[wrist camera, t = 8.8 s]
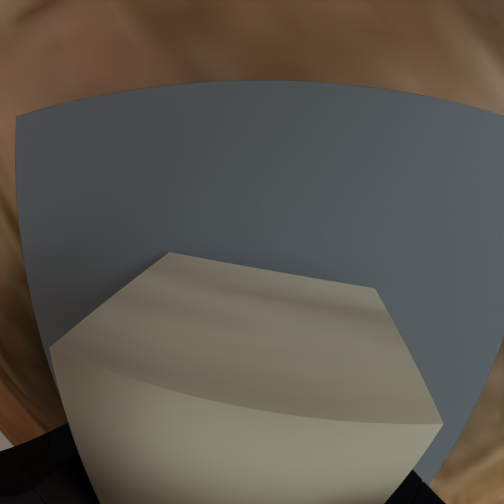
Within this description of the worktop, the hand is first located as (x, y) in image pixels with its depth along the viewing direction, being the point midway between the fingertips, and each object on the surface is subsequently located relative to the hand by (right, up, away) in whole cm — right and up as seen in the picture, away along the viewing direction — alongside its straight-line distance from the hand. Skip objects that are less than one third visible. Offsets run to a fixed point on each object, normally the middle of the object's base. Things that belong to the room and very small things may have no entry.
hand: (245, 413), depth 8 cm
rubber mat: (0, +1, +2) cm, 2 cm away
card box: (0, 0, +1) cm, 1 cm away
